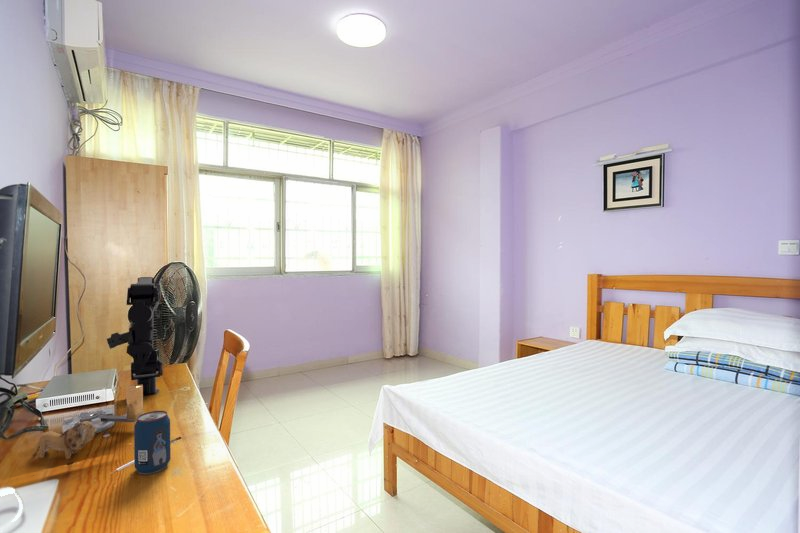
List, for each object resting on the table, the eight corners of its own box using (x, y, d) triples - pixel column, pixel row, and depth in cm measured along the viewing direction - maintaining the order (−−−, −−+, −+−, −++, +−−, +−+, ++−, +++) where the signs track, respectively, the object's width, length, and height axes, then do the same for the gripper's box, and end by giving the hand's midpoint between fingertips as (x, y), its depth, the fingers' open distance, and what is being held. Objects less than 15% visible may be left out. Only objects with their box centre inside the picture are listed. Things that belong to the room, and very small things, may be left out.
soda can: (148, 459, 93) (147, 409, 92) (177, 460, 92) (176, 409, 92) (126, 475, 86) (126, 421, 86) (158, 476, 86) (157, 421, 85)
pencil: (181, 439, 104) (181, 437, 104) (110, 476, 86) (110, 473, 86) (179, 439, 104) (179, 436, 104) (107, 476, 86) (107, 473, 86)
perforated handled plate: (51, 436, 101) (50, 392, 101) (87, 419, 112) (86, 379, 112) (126, 438, 100) (125, 393, 100) (155, 421, 111) (155, 380, 111)
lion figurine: (101, 453, 95) (100, 417, 95) (85, 465, 90) (85, 426, 90) (36, 456, 94) (35, 419, 94) (16, 468, 89) (15, 428, 89)
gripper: (112, 323, 126) (107, 373, 124) (107, 324, 110) (102, 381, 109) (153, 322, 132) (149, 370, 130) (154, 323, 116) (149, 377, 115)
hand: (137, 374), depth 121 cm, fingers closed
